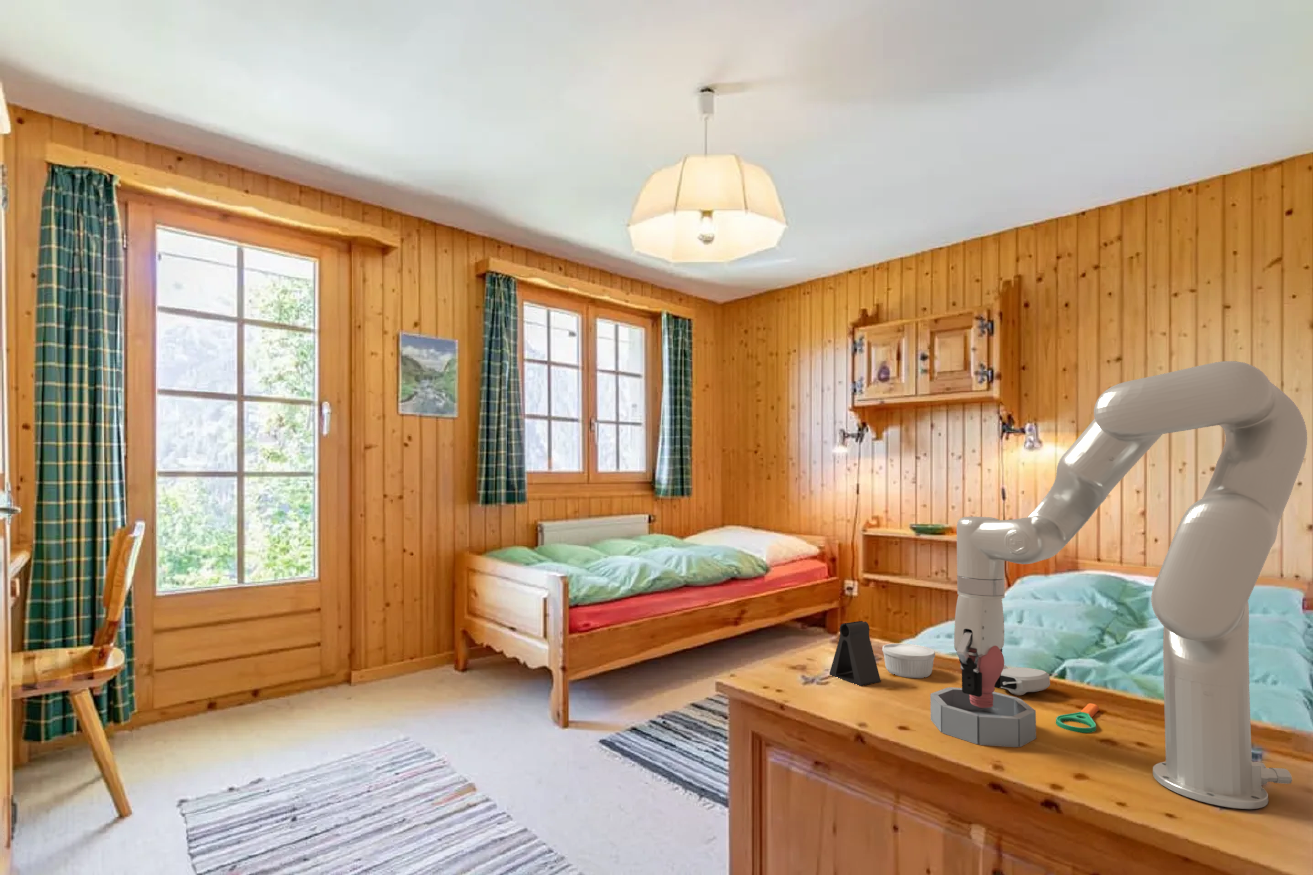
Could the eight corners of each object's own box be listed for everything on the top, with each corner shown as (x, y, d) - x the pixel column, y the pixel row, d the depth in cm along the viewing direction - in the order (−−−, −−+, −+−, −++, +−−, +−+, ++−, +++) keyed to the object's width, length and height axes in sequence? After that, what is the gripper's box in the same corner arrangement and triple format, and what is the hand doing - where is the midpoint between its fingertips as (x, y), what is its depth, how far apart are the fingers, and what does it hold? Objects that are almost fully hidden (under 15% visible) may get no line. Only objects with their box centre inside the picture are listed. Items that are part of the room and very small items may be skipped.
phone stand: (829, 675, 146) (829, 619, 147) (848, 671, 149) (848, 617, 150) (861, 686, 139) (860, 628, 139) (880, 682, 142) (880, 625, 142)
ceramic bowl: (1009, 715, 123) (1009, 690, 123) (1049, 748, 108) (1048, 720, 108) (923, 710, 125) (923, 685, 125) (949, 742, 110) (949, 715, 110)
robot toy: (958, 686, 143) (1025, 702, 130) (956, 664, 144) (1023, 678, 130) (994, 678, 149) (1062, 693, 136) (993, 657, 149) (1060, 670, 136)
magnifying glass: (1090, 738, 114) (1090, 728, 114) (1050, 728, 118) (1050, 718, 118) (1112, 716, 124) (1111, 707, 124) (1075, 708, 129) (1074, 699, 129)
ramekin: (897, 662, 157) (897, 640, 158) (944, 673, 149) (944, 649, 149) (872, 671, 150) (872, 647, 150) (921, 683, 142) (920, 658, 142)
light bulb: (994, 718, 111) (993, 645, 112) (952, 707, 117) (951, 637, 117) (1011, 709, 116) (1010, 639, 117) (970, 698, 121) (969, 632, 122)
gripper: (980, 580, 126) (982, 676, 125) (935, 589, 115) (936, 694, 114) (1023, 585, 120) (1024, 686, 119) (980, 595, 109) (981, 706, 108)
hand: (981, 689), depth 117 cm, fingers closed on light bulb, 6 cm apart
